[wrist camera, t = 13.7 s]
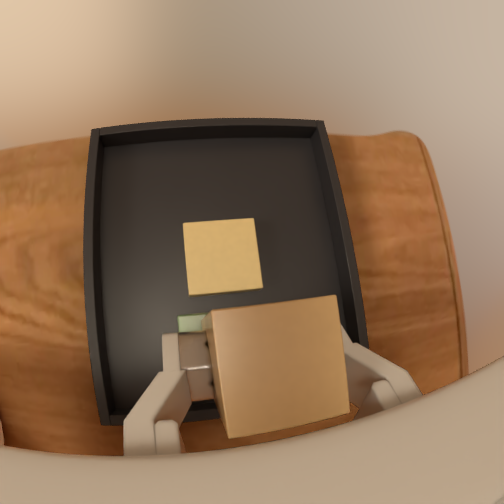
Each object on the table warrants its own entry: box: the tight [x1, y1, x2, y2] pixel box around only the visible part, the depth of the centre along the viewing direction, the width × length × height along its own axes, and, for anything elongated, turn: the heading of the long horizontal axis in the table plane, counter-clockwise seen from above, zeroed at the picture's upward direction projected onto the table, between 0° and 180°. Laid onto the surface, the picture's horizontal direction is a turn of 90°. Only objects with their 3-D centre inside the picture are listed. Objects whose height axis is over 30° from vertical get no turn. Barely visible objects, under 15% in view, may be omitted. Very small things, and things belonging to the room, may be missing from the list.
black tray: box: [83, 118, 369, 426], centre depth 18 cm, size 15×17×2 cm
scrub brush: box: [177, 295, 350, 439], centre depth 11 cm, size 5×4×9 cm
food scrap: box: [183, 218, 263, 297], centre depth 18 cm, size 4×4×1 cm
